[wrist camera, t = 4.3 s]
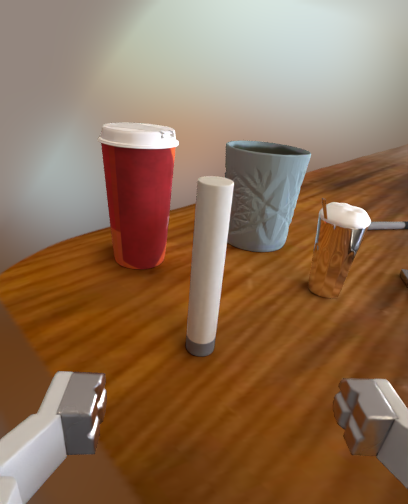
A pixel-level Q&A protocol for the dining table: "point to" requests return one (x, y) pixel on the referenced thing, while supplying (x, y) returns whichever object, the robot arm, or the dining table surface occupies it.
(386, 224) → the pen
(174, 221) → the dining table surface
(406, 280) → the tablet
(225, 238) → the white cylindrical rod
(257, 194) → the grey embossed cup
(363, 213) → the milkshake
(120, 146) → the paper cup
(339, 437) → the dining table surface
